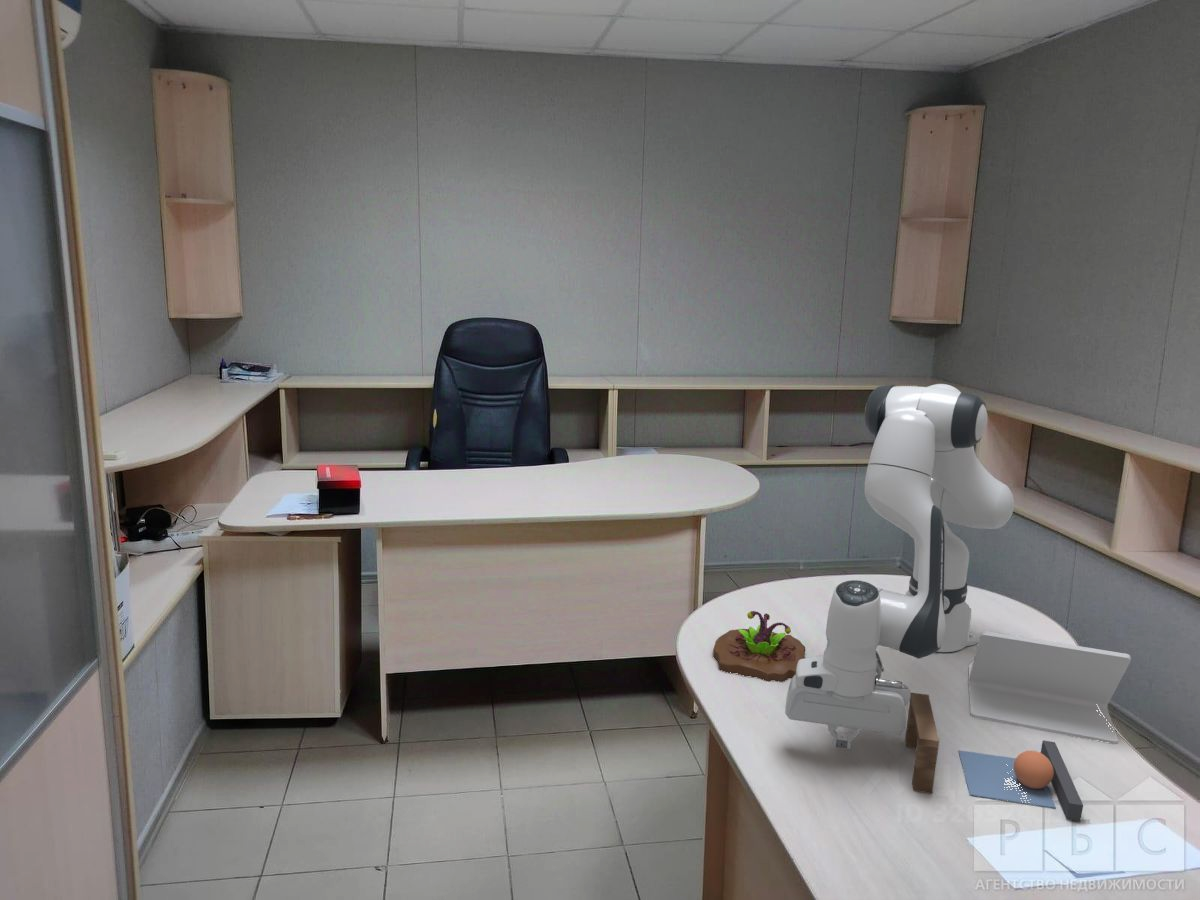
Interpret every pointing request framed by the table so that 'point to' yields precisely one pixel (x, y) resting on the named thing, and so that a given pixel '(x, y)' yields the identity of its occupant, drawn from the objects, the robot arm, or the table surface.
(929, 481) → the robot arm
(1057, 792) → the stopper
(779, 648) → the plant
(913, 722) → the bridge
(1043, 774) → the ball
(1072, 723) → the tablet stand
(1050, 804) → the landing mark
